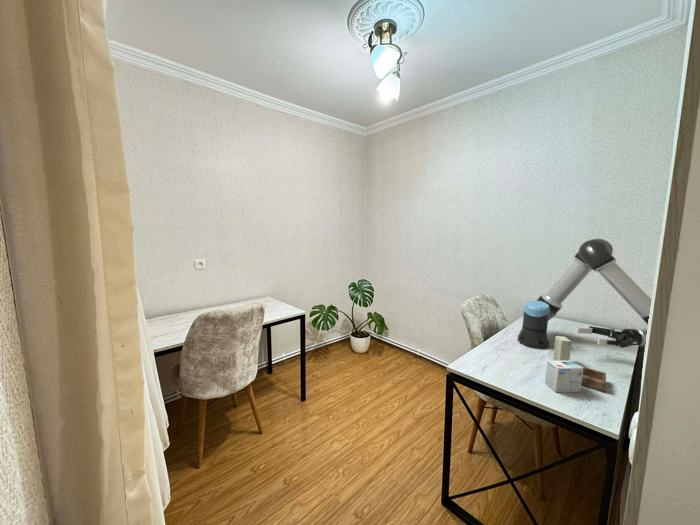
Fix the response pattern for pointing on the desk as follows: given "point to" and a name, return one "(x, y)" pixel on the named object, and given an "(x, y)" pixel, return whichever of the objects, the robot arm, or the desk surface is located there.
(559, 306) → the robot arm
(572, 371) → the light bulb box
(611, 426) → the desk surface
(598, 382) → the walnut holder
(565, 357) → the skincare box
